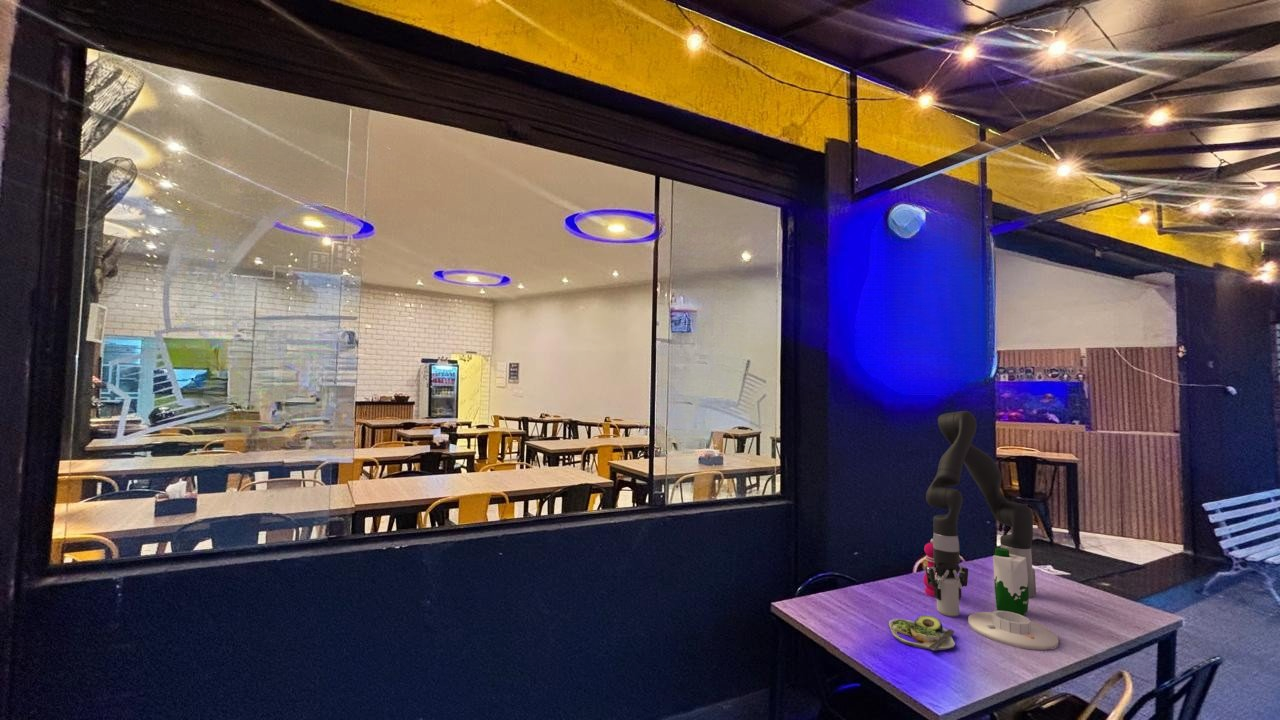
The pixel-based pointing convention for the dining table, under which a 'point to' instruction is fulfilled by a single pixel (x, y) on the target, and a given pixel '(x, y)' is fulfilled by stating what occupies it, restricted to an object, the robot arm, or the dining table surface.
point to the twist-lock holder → (1013, 630)
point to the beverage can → (949, 597)
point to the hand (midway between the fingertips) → (947, 598)
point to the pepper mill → (930, 559)
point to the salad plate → (923, 633)
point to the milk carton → (1010, 582)
